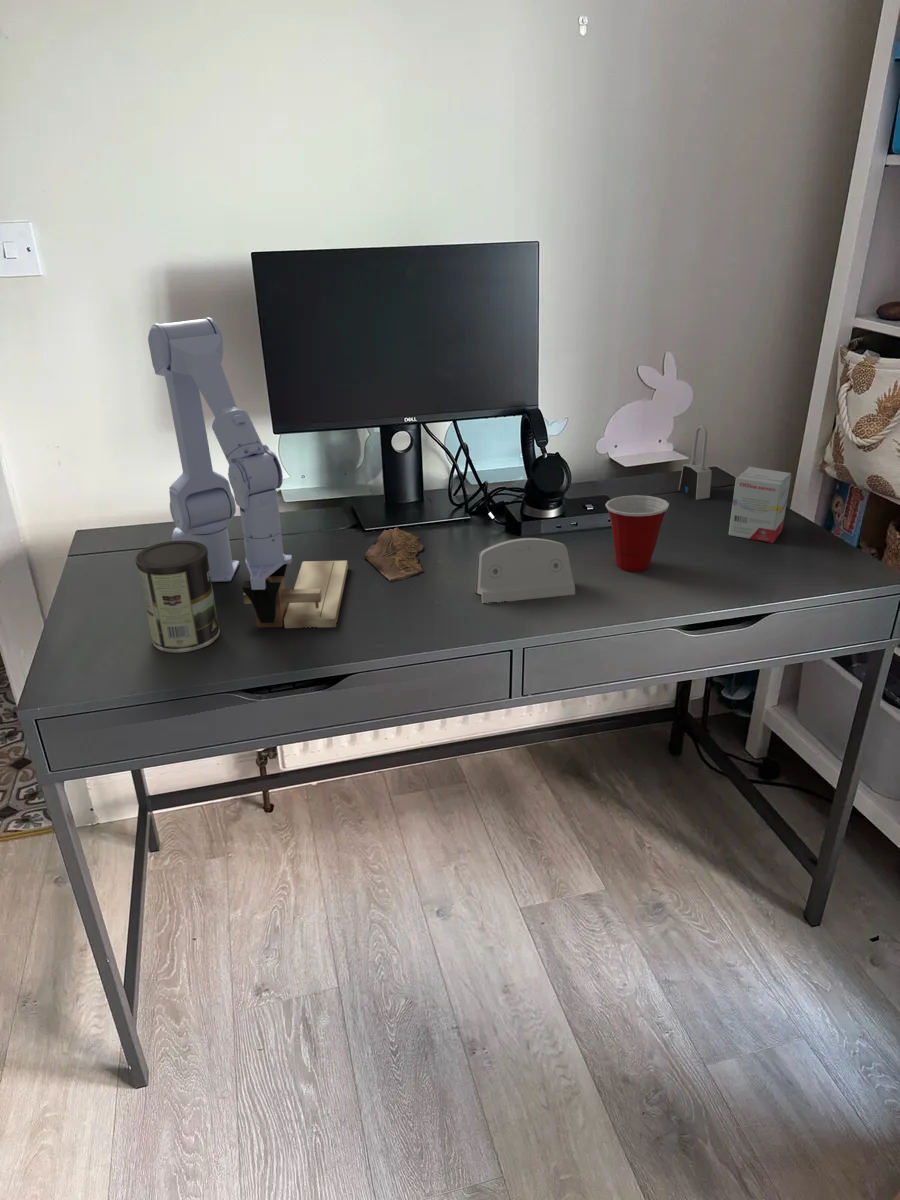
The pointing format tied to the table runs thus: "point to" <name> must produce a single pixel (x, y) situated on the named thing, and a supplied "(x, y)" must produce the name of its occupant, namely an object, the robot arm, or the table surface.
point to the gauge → (287, 600)
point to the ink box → (759, 504)
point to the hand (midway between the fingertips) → (271, 610)
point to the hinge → (523, 570)
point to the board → (331, 584)
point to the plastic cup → (635, 529)
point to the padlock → (696, 473)
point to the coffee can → (178, 595)
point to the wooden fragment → (395, 554)
